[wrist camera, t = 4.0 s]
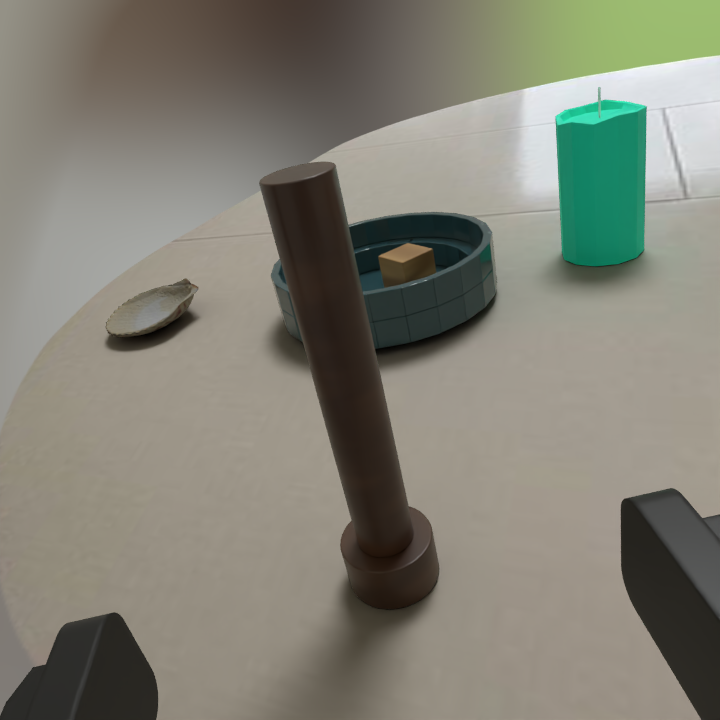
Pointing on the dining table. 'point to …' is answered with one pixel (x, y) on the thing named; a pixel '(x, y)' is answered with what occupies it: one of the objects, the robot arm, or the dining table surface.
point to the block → (406, 264)
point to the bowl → (423, 296)
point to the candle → (602, 181)
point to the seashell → (151, 310)
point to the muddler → (349, 387)
